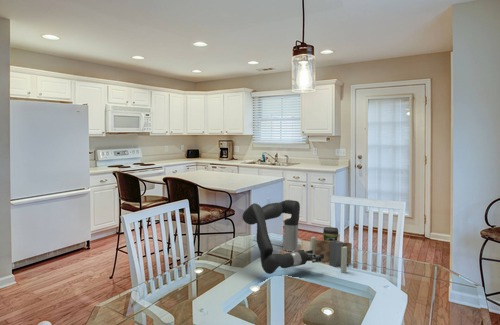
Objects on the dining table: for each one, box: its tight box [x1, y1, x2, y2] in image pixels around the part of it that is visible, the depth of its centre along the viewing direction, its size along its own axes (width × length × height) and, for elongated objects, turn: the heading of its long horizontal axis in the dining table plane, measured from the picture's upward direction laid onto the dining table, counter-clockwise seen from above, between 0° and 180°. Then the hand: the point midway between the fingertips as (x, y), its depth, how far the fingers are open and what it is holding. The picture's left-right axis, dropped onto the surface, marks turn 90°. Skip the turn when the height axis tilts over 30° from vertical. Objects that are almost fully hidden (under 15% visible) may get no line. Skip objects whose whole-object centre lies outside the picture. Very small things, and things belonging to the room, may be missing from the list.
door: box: [315, 239, 352, 265], centre depth 198 cm, size 21×1×12 cm, turn 74°
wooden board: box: [309, 236, 348, 274], centre depth 192 cm, size 25×3×14 cm, turn 34°
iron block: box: [328, 239, 344, 268], centre depth 193 cm, size 5×5×14 cm
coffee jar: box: [322, 226, 339, 241], centre depth 210 cm, size 10×8×19 cm
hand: (317, 254), depth 185 cm, fingers open, 8 cm apart
